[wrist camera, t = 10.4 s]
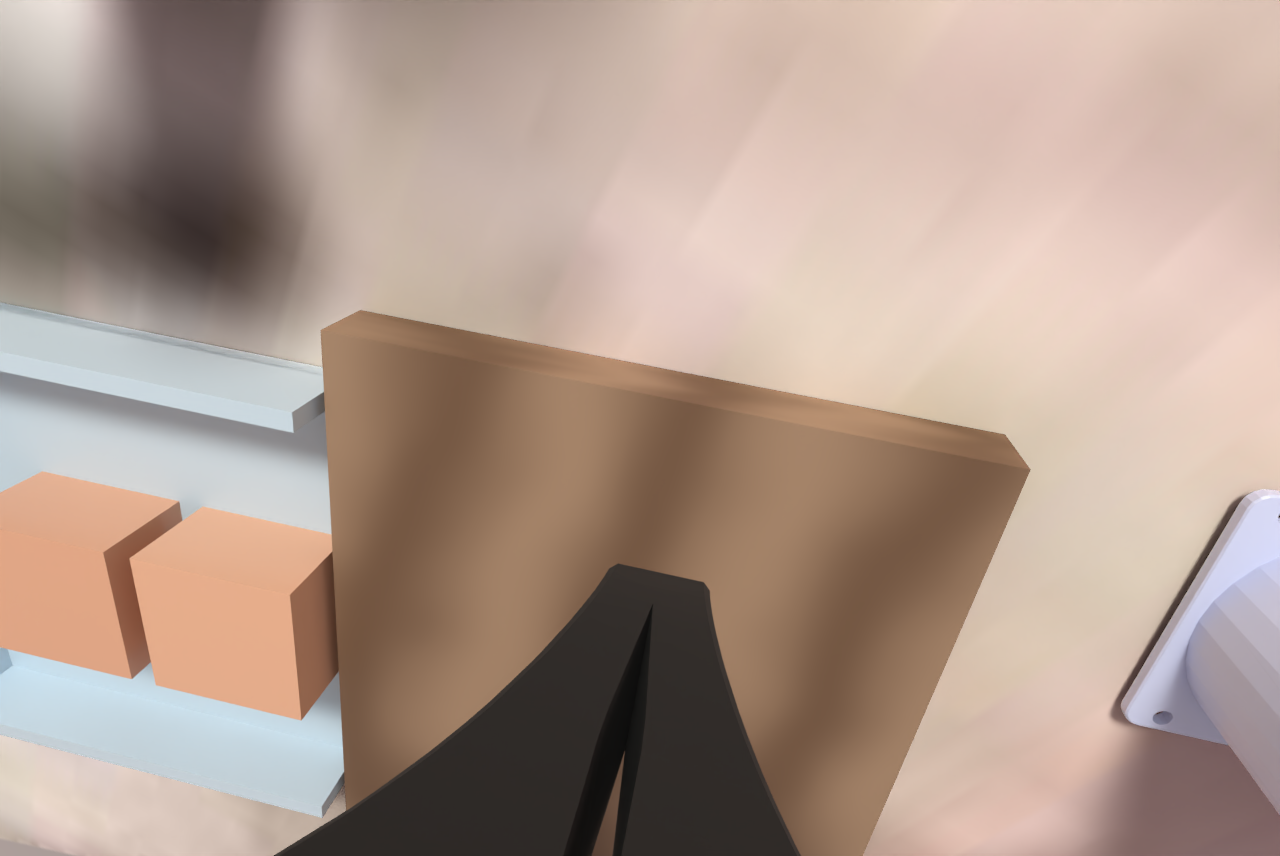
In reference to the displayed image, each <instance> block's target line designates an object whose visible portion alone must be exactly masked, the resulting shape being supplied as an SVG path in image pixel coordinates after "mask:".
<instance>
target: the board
mask: <svg viewBox="0 0 1280 856" xmlns="http://www.w3.org/2000/svg"><path fill="white" fill-rule="evenodd" d="M321 345H322V364H323V383H324V402H325V420H326V439H327V458H328V477H329V496H330V515H331V534H332V552H333V571H334V590H335V609H336V628H337V647H338V666H339V684H340V703H341V722H342V741H343V760H344V779H345V798H346V811H347V810H348V809H350V808H351V807H353V806H354V805H356V804H357V803H359V802H360V801H361V800H363V799H364V798H366V797H367V796H369V795H370V794H372V793H373V792H375V791H376V790H378V789H379V788H380V787H382V786H383V785H384V784H386V783H387V782H389V781H390V780H391V779H393V778H394V777H395V776H397V775H398V774H399V773H401V772H402V771H404V770H405V769H406V768H408V767H409V766H410V765H412V764H413V763H415V762H416V761H417V760H419V759H420V758H421V757H423V756H424V755H425V754H427V753H428V752H429V751H431V750H432V749H433V748H435V747H436V746H437V745H438V744H440V743H441V742H442V741H443V740H445V739H446V738H447V737H448V736H450V735H451V734H452V733H453V732H455V731H456V730H457V729H458V728H459V727H461V726H462V725H463V724H464V723H465V722H467V721H468V720H469V719H470V718H471V717H473V716H474V715H475V714H476V713H477V712H478V711H479V710H481V709H482V708H483V707H484V706H485V705H486V704H487V703H489V702H490V701H491V700H492V699H493V698H494V697H495V696H496V695H497V694H498V693H499V692H500V691H502V690H503V689H504V688H505V687H506V686H507V685H508V684H509V683H510V682H511V681H512V680H513V679H514V678H515V677H516V676H517V675H518V674H519V673H520V672H521V671H522V670H524V669H525V668H526V667H527V666H528V665H529V664H530V663H531V662H532V661H533V660H534V659H535V658H536V657H537V656H538V655H539V654H540V653H541V652H542V651H543V649H544V648H545V647H546V646H547V645H548V644H549V643H550V642H551V641H552V640H553V639H554V637H555V636H556V635H557V634H558V633H559V632H560V631H561V630H562V629H563V628H564V627H565V626H566V624H567V623H568V622H569V621H570V620H571V619H572V618H573V616H574V615H575V614H576V613H577V612H578V610H579V609H580V608H581V607H582V606H583V604H584V603H585V602H586V601H587V599H588V598H589V597H590V596H591V594H592V593H593V592H594V590H595V589H596V588H597V586H598V585H599V583H600V582H601V580H602V579H603V578H604V576H605V574H606V573H607V571H608V569H609V568H611V567H613V566H614V565H616V564H623V565H628V566H632V567H637V568H641V569H646V570H650V571H655V572H660V573H664V574H669V575H673V576H678V577H683V578H687V579H692V580H696V581H701V582H704V583H705V584H706V586H707V587H708V589H709V590H710V600H711V608H712V615H713V620H714V625H715V630H716V635H717V639H718V643H719V647H720V651H721V655H722V659H723V662H724V666H725V669H726V673H727V676H728V679H729V682H730V685H731V688H732V691H733V695H734V698H735V701H736V704H737V707H738V710H739V713H740V716H741V719H742V721H743V724H744V727H745V730H746V732H747V735H748V738H749V740H750V743H751V745H752V748H753V750H754V753H755V755H756V758H757V761H758V763H759V766H760V768H761V771H762V773H763V775H764V778H765V780H766V782H767V785H768V787H769V789H770V792H771V794H772V796H773V798H774V801H775V803H776V805H777V807H778V809H779V812H780V814H781V816H782V818H783V820H784V822H785V824H786V826H787V828H788V830H789V832H790V834H791V837H792V839H793V841H794V843H795V845H796V847H797V849H798V851H799V853H800V855H801V856H863V853H864V851H865V849H866V847H867V844H868V842H869V840H870V837H871V835H872V833H873V830H874V828H875V826H876V824H877V821H878V819H879V817H880V814H881V812H882V810H883V807H884V805H885V803H886V801H887V798H888V796H889V794H890V791H891V789H892V787H893V785H894V782H895V780H896V778H897V775H898V773H899V771H900V768H901V766H902V764H903V762H904V759H905V757H906V755H907V752H908V750H909V748H910V745H911V743H912V741H913V739H914V736H915V734H916V732H917V729H918V727H919V725H920V722H921V720H922V718H923V716H924V713H925V711H926V709H927V706H928V704H929V702H930V699H931V697H932V695H933V693H934V690H935V688H936V686H937V683H938V681H939V679H940V676H941V674H942V672H943V670H944V667H945V665H946V663H947V660H948V658H949V656H950V653H951V651H952V649H953V647H954V644H955V642H956V640H957V637H958V635H959V633H960V630H961V628H962V626H963V624H964V621H965V619H966V617H967V614H968V612H969V610H970V607H971V605H972V603H973V601H974V598H975V596H976V594H977V591H978V589H979V587H980V585H981V582H982V580H983V578H984V575H985V573H986V571H987V568H988V566H989V564H990V562H991V559H992V557H993V555H994V552H995V550H996V548H997V545H998V543H999V541H1000V539H1001V536H1002V534H1003V532H1004V529H1005V527H1006V525H1007V522H1008V520H1009V518H1010V516H1011V513H1012V511H1013V509H1014V506H1015V504H1016V502H1017V499H1018V497H1019V495H1020V493H1021V490H1022V488H1023V486H1024V483H1025V481H1026V479H1027V476H1028V474H1029V472H1030V468H1029V467H1028V466H1027V464H1026V463H1025V461H1024V460H1023V459H1022V457H1021V456H1020V455H1019V453H1018V452H1017V450H1016V449H1015V448H1014V446H1013V445H1012V444H1011V442H1010V441H1009V439H1008V438H1007V437H1006V435H1004V434H999V433H993V432H988V431H983V430H978V429H973V428H967V427H962V426H957V425H952V424H947V423H942V422H936V421H931V420H926V419H921V418H916V417H910V416H905V415H900V414H895V413H890V412H885V411H879V410H874V409H869V408H864V407H859V406H853V405H848V404H843V403H838V402H833V401H828V400H822V399H817V398H812V397H807V396H802V395H796V394H791V393H786V392H781V391H776V390H771V389H765V388H760V387H755V386H750V385H745V384H739V383H734V382H729V381H724V380H719V379H714V378H708V377H703V376H698V375H693V374H688V373H682V372H677V371H672V370H667V369H662V368H657V367H651V366H646V365H641V364H636V363H631V362H625V361H620V360H615V359H610V358H605V357H600V356H594V355H589V354H584V353H579V352H574V351H568V350H563V349H558V348H553V347H548V346H543V345H537V344H532V343H527V342H522V341H517V340H511V339H506V338H501V337H496V336H491V335H486V334H480V333H475V332H470V331H465V330H460V329H454V328H449V327H444V326H439V325H434V324H429V323H423V322H418V321H413V320H408V319H403V318H397V317H392V316H387V315H382V314H377V313H372V312H366V311H361V310H360V311H358V312H356V313H354V314H352V315H350V316H348V317H346V318H344V319H342V320H340V321H338V322H336V323H334V324H332V325H330V326H328V327H326V328H324V329H322V330H321ZM624 754H625V752H624ZM623 762H624V755H623V758H622V761H621V765H620V768H619V771H618V774H617V777H616V780H615V784H614V787H613V790H612V793H611V796H610V799H609V803H608V806H607V809H606V812H605V815H604V818H603V821H602V825H601V828H600V831H599V834H598V837H597V840H596V843H595V847H594V850H593V853H592V856H612V854H613V846H614V838H615V829H616V821H617V812H618V804H619V796H620V787H621V779H622V771H623Z"/></svg>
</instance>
